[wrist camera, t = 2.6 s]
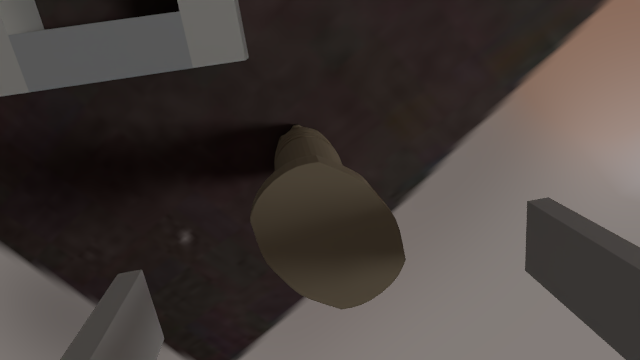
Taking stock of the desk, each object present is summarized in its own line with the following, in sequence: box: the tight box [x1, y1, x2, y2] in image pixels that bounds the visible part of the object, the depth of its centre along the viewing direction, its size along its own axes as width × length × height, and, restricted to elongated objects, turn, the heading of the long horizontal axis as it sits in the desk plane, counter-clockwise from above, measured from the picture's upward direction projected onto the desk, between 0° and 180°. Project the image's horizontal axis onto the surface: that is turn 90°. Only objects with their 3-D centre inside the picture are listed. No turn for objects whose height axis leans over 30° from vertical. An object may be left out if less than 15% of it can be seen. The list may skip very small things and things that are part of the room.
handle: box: [250, 124, 405, 309], centre depth 22 cm, size 5×6×15 cm
